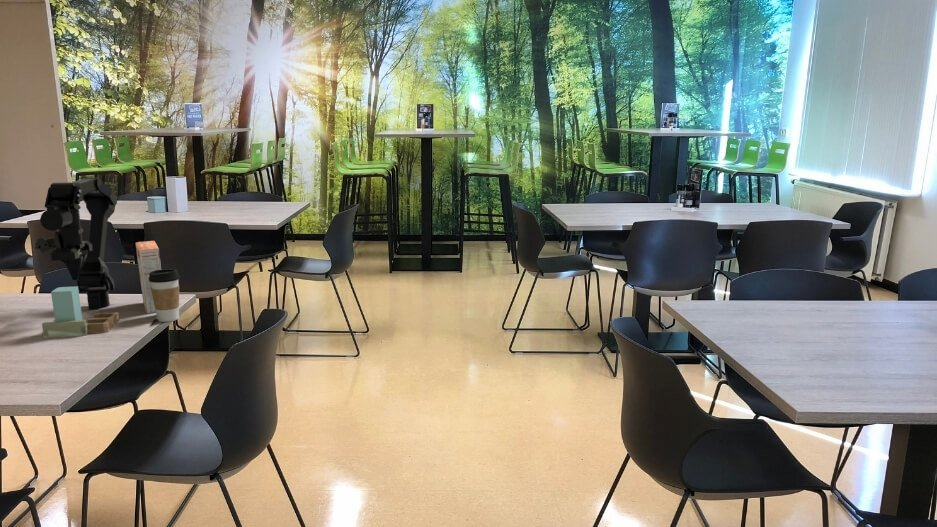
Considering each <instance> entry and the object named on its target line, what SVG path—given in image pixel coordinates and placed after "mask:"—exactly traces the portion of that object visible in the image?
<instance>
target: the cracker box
mask: <svg viewBox="0 0 937 527" xmlns="http://www.w3.org/2000/svg"><path fill="white" fill-rule="evenodd" d="M135 250H136V257H137V266H138V273H139V280H140V289H141V296H142V303H143V304H142V305H143V308H144V311H145V313H146V314H151V313H153V314H154V313H156V309H155V305H154V300H153V296H152V291H151V283H150V282H149V273H150V272H152V271H155V270H162V266H161V257H160V256H161V255H160V248H159V247H158V245H157V243H156V241H155V240H148V241H145V240H144V241H138V242H135Z"/></svg>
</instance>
